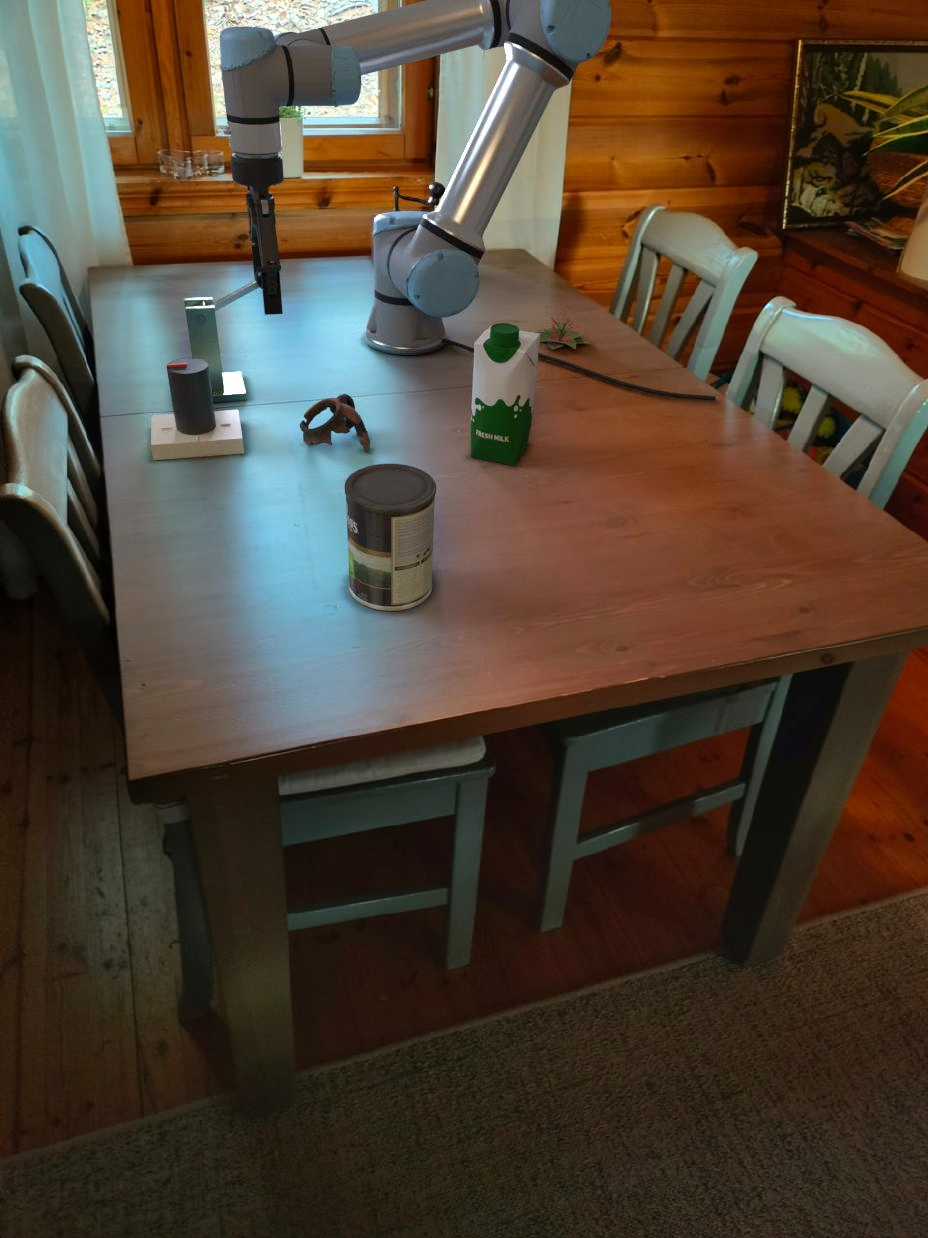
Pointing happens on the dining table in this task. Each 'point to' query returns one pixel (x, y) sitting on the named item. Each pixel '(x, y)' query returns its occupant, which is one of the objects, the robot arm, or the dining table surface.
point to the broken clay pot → (334, 421)
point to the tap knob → (191, 395)
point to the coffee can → (390, 535)
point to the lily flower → (561, 336)
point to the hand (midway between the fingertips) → (268, 299)
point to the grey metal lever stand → (211, 350)
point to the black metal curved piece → (435, 194)
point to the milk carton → (503, 392)
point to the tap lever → (236, 293)
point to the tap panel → (196, 438)
